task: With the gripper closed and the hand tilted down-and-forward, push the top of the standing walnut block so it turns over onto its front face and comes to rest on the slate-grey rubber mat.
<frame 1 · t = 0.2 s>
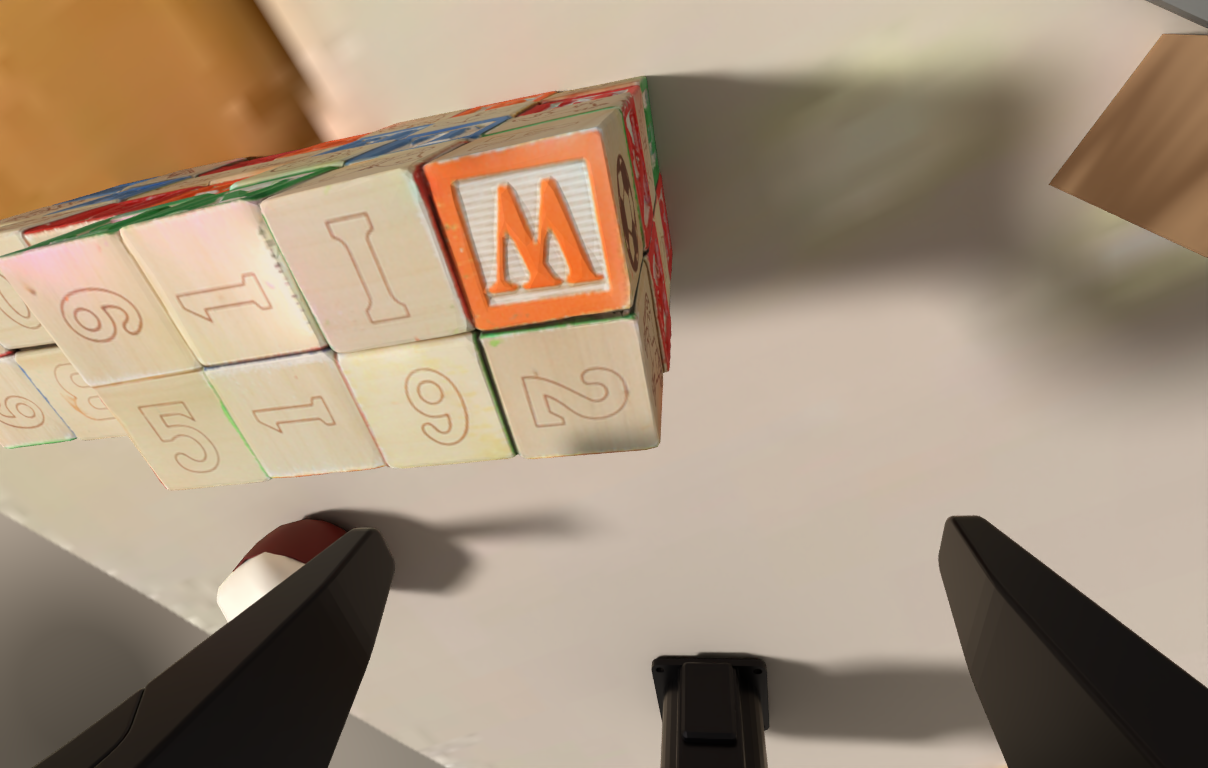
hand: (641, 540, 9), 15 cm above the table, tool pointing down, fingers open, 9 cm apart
stack of blocks: (392, 215, 23), on the table
walnut block: (1165, 141, 18), on the table
cocoa: (333, 540, 33), on the table
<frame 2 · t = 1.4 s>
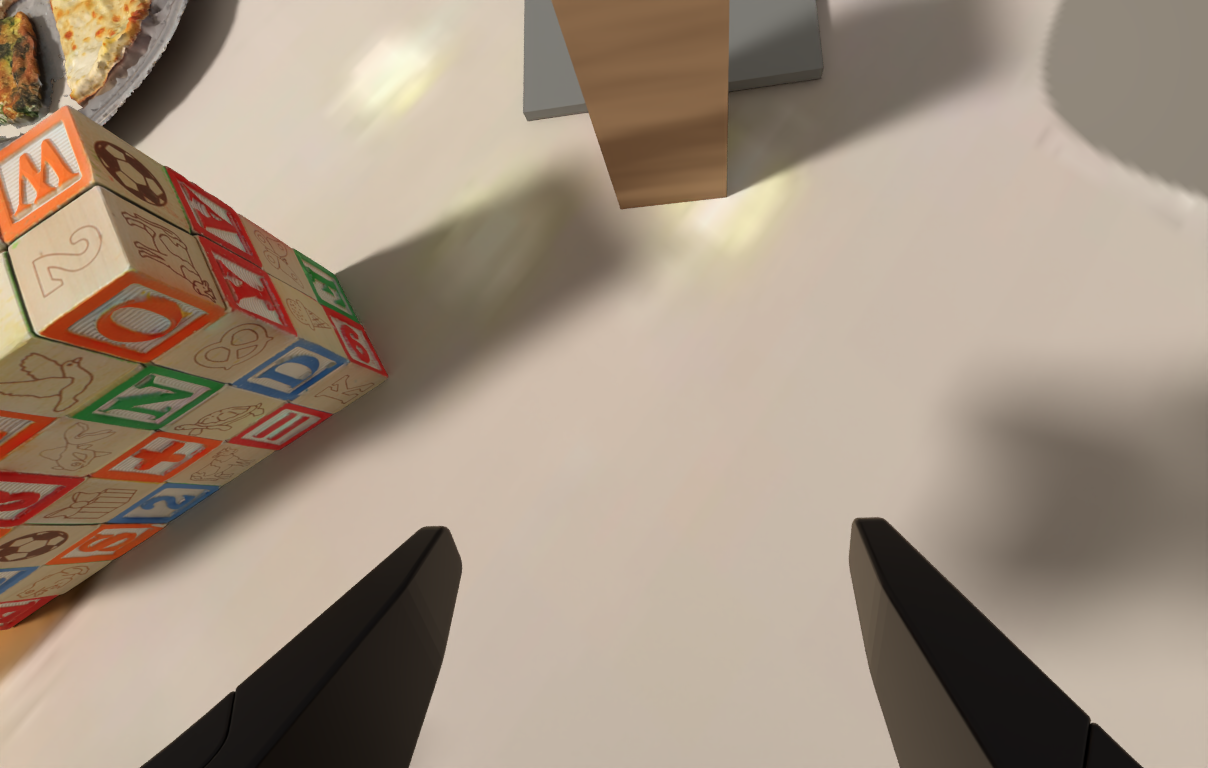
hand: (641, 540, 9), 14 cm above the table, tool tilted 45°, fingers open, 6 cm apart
stack of blocks: (181, 450, 28), on the table
walnut block: (670, 156, 26), on the table
food plate: (53, 18, 36), on the table
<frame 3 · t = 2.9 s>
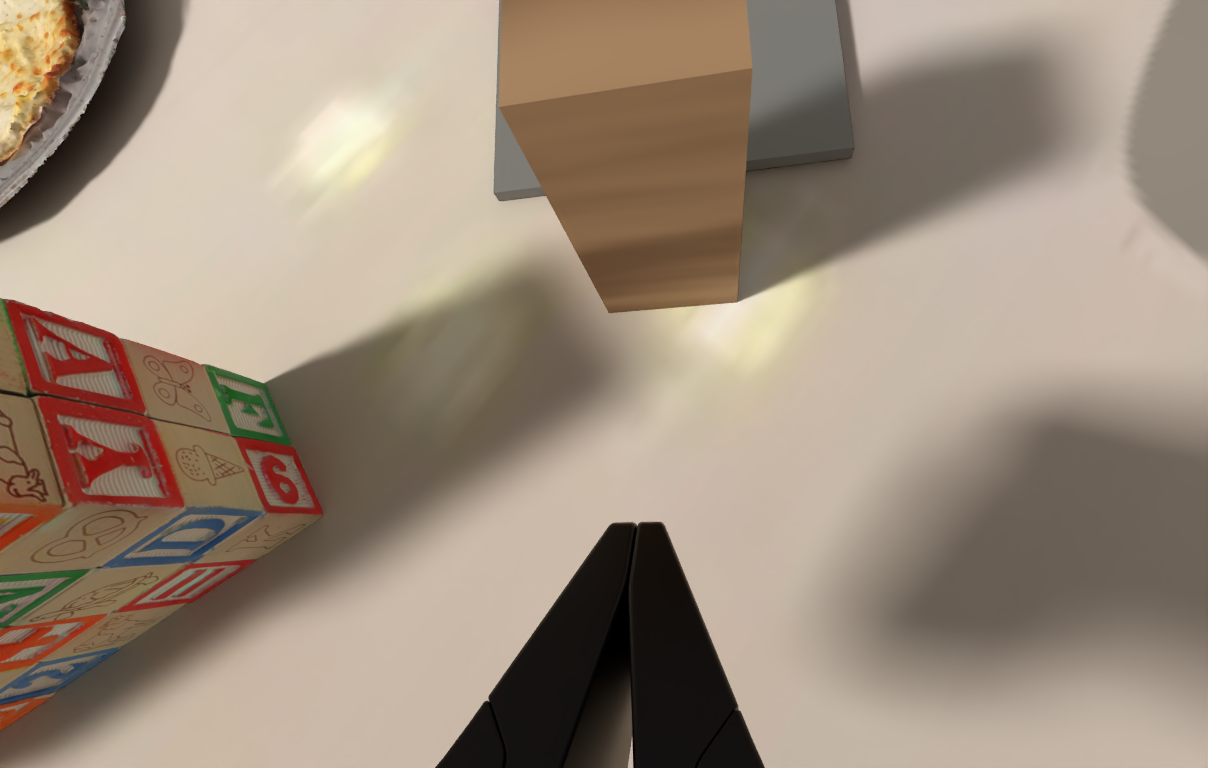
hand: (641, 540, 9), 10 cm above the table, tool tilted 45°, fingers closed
stack of blocks: (79, 595, 23), on the table
walnut block: (669, 248, 21), on the table
mat: (657, 3, 24), on the table
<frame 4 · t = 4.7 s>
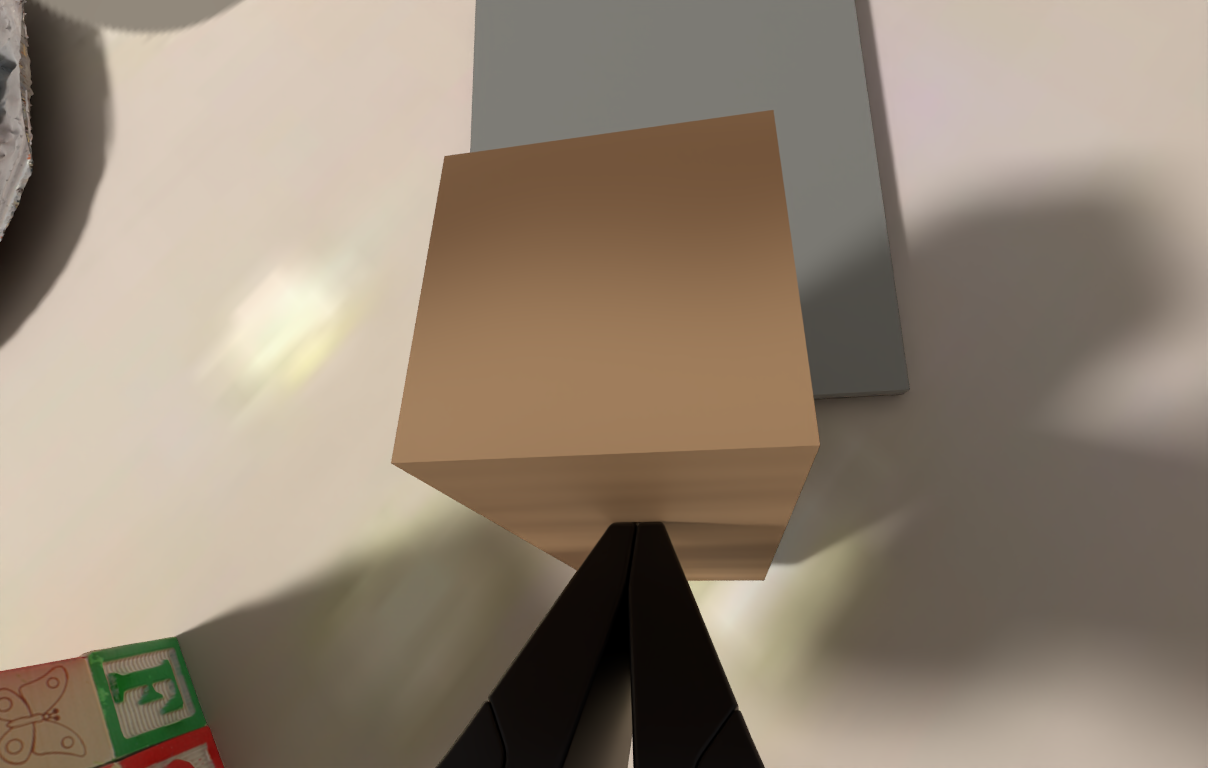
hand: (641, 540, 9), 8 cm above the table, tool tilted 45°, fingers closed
walnut block: (674, 497, 17), on the table, tilted 11°
mat: (660, 170, 20), on the table
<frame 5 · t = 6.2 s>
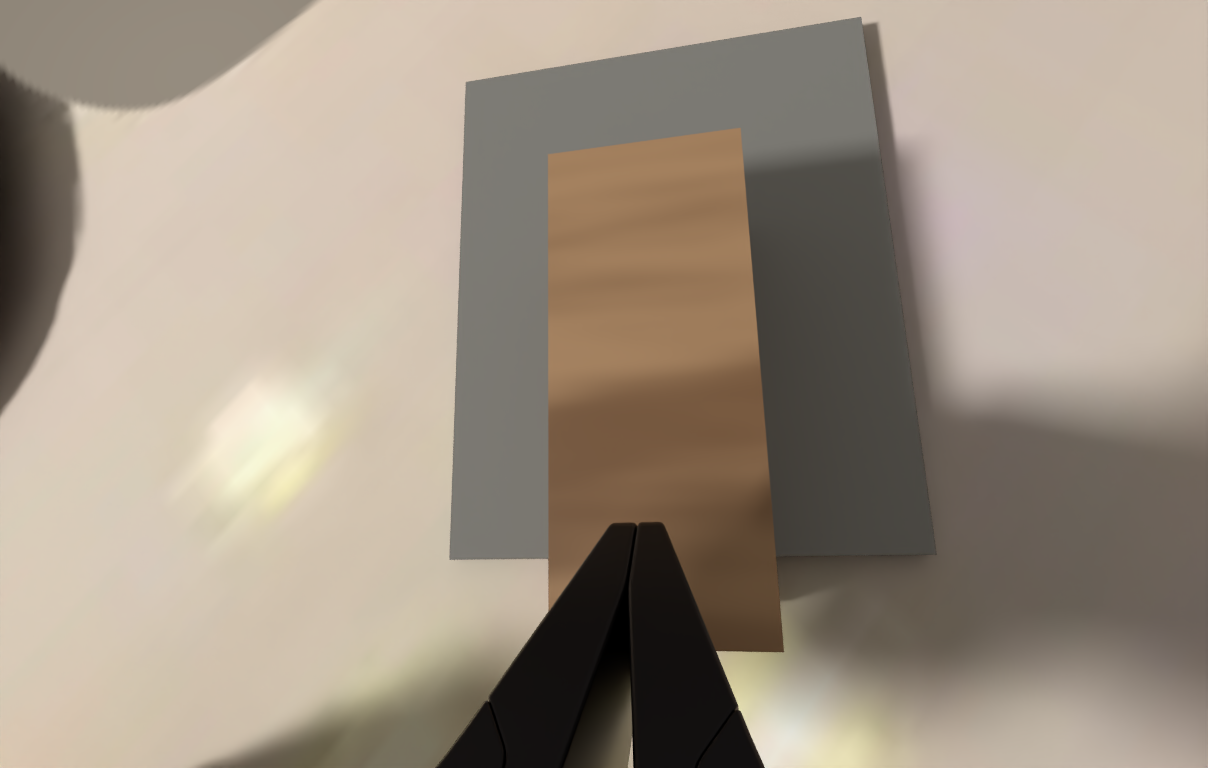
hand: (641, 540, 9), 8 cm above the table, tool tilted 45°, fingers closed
walnut block: (671, 628, 14), point 3 cm above the table, tilted 90°, touching mat
mat: (664, 286, 18), on the table
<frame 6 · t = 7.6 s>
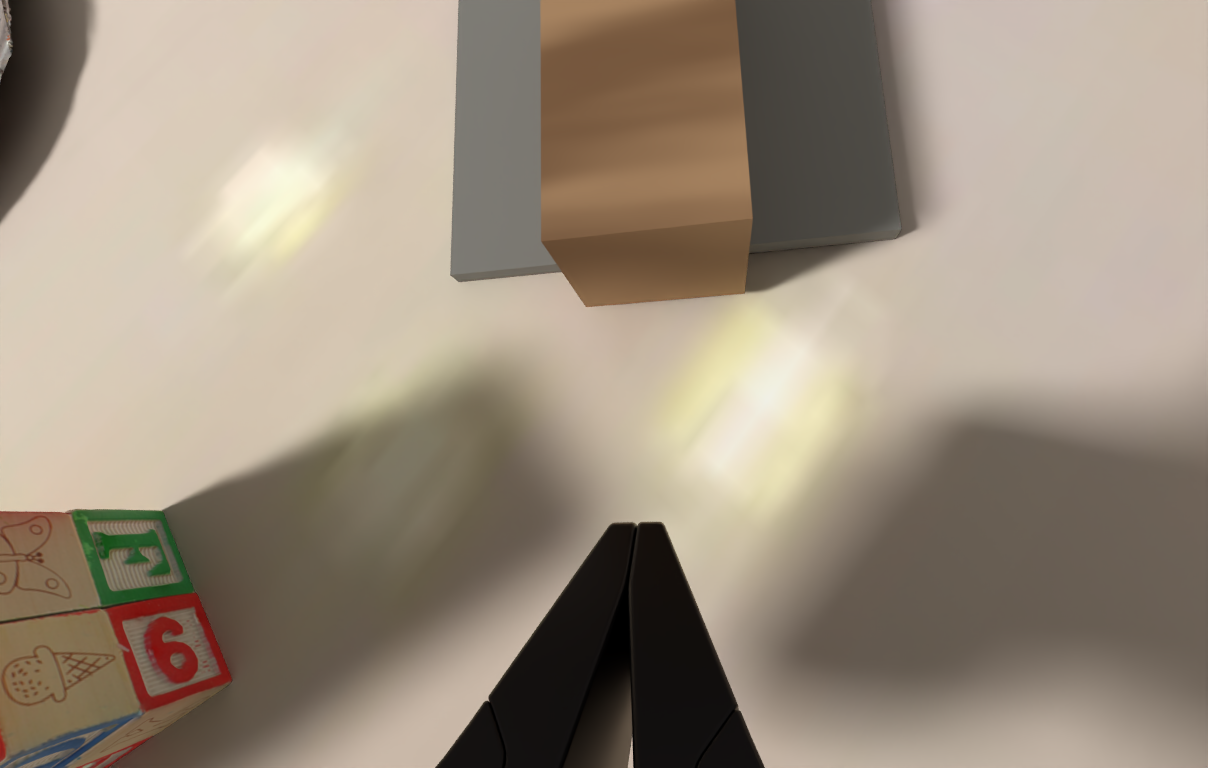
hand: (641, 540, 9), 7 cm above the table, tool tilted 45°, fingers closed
walnut block: (654, 270, 15), point 3 cm above the table, tilted 90°, touching mat
mat: (651, 31, 19), on the table
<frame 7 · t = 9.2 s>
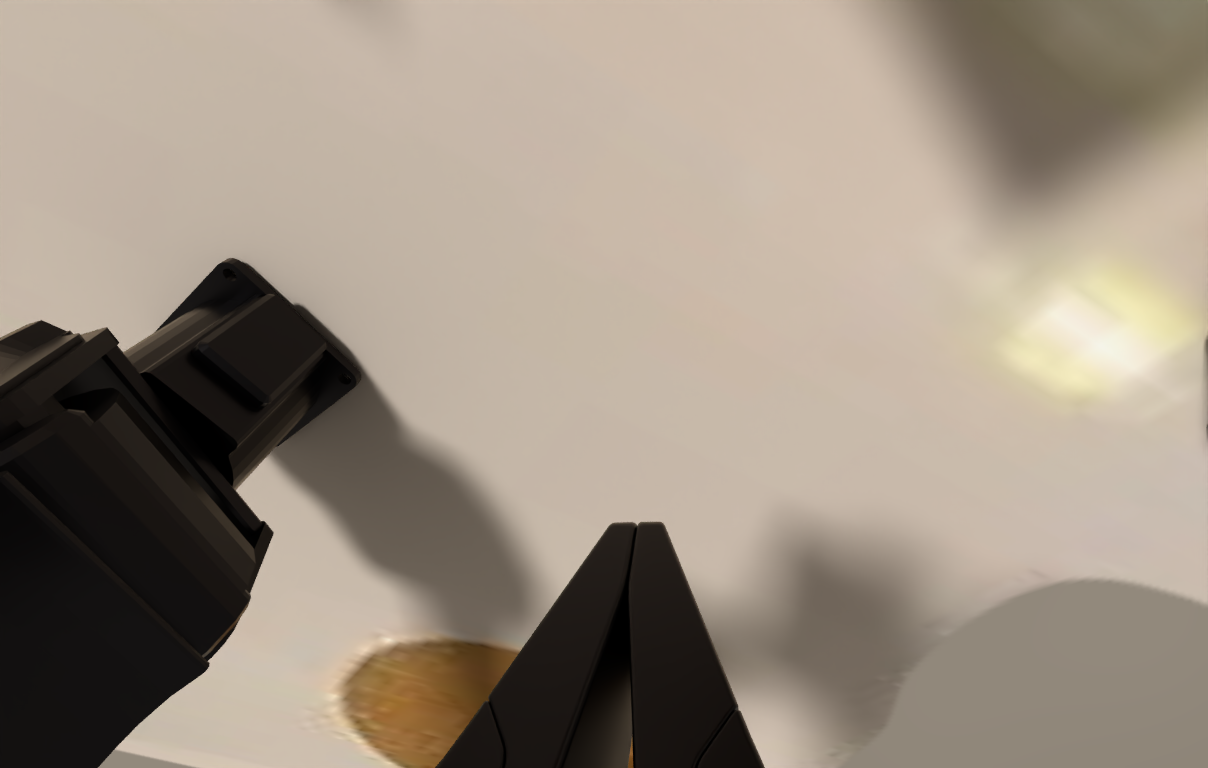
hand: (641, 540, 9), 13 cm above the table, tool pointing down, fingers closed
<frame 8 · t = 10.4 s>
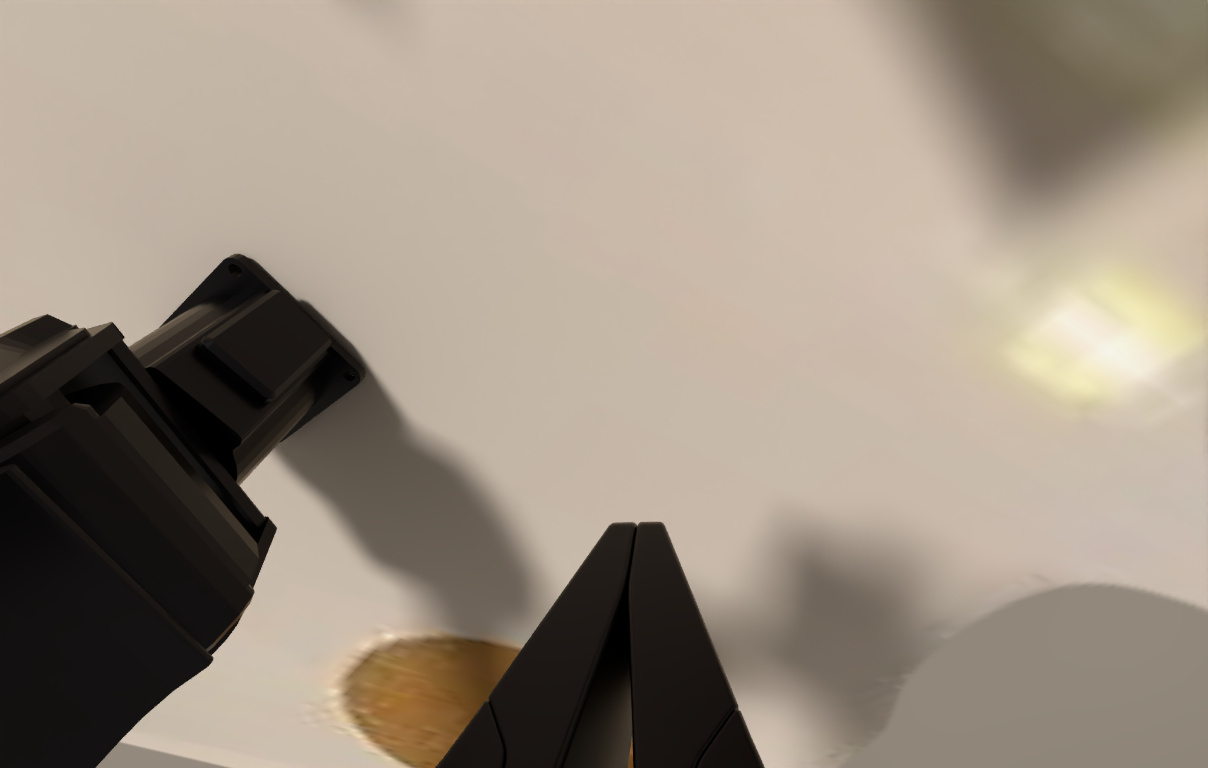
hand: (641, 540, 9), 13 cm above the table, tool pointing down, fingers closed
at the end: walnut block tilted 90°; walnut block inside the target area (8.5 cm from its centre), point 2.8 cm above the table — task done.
